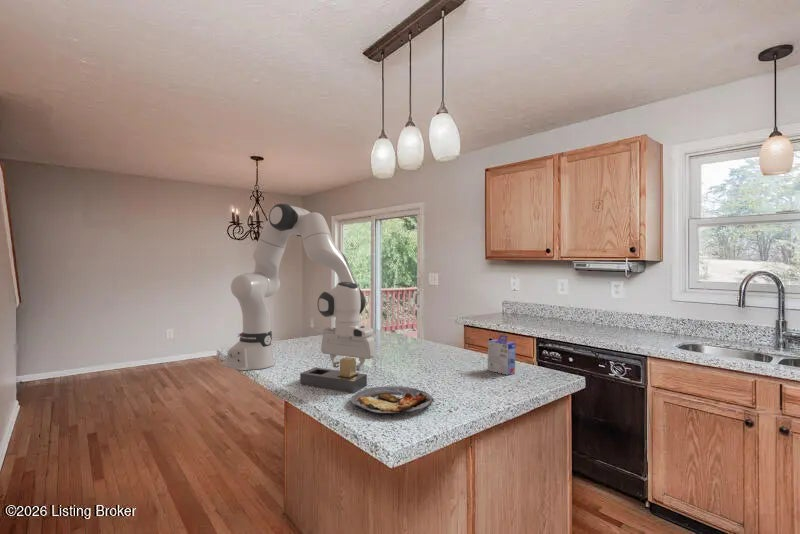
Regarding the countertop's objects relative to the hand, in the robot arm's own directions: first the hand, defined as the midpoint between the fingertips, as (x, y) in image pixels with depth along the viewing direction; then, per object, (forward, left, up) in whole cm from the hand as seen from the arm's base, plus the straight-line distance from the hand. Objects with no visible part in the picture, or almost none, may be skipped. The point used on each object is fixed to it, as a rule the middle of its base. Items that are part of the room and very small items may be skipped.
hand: (347, 368), depth 141 cm
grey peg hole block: (-6, 0, -7) cm, 9 cm away
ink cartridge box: (+45, +43, -7) cm, 63 cm away
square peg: (0, 0, -7) cm, 7 cm away
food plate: (+21, -8, -7) cm, 24 cm away
